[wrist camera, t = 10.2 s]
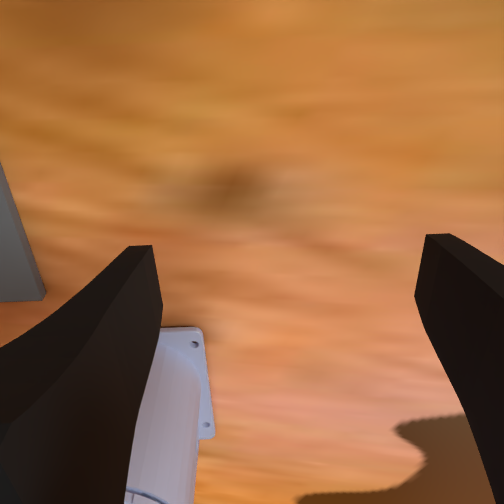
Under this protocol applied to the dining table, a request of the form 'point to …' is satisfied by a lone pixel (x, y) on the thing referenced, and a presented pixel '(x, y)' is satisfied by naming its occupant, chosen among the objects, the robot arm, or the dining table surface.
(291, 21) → the dining table surface
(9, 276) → the grey board with rings
